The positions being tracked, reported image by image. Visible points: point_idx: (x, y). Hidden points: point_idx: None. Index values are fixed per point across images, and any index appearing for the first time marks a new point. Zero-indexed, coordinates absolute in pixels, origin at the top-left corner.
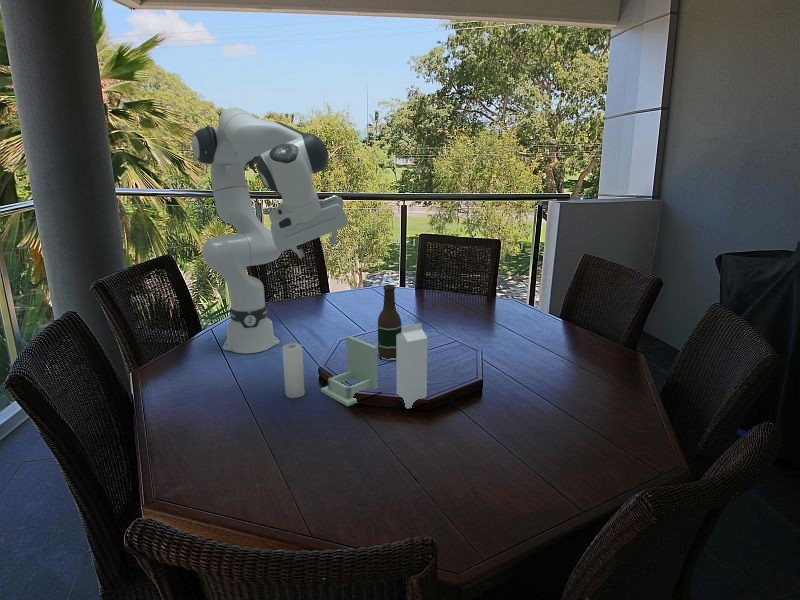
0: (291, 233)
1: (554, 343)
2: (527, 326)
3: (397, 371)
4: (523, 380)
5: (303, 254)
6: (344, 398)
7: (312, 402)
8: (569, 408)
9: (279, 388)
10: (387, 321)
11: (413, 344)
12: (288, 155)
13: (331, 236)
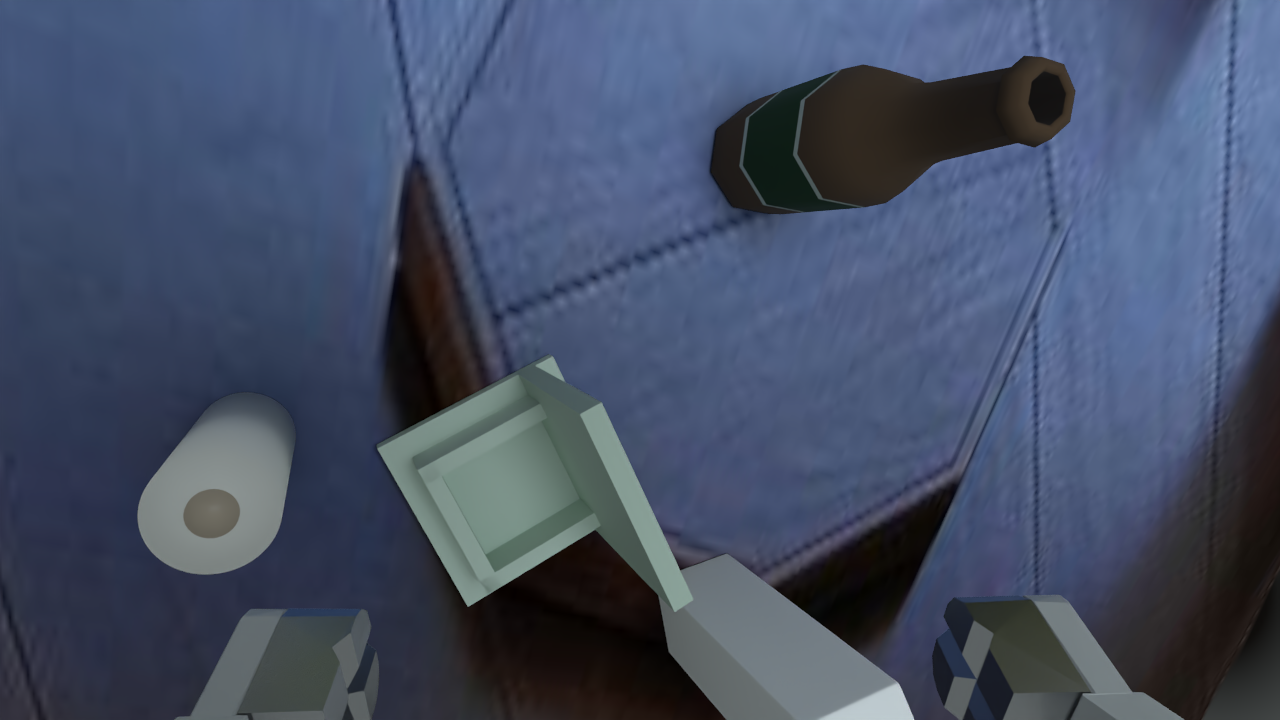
0: None
1: (1262, 260)
2: None
3: (710, 642)
4: (1052, 514)
5: (360, 716)
6: (464, 565)
7: (321, 539)
8: None
9: (164, 356)
10: (853, 191)
11: None
12: None
13: (1082, 703)
